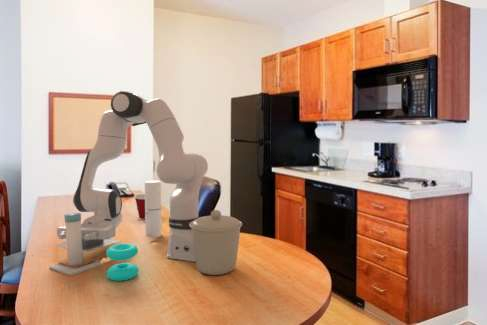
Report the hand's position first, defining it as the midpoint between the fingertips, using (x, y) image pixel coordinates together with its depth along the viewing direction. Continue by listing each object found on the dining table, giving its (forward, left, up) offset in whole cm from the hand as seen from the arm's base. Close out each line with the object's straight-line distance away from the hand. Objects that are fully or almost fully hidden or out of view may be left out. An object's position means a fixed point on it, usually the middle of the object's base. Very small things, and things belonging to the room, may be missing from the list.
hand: (73, 237), depth 129 cm
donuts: (-21, -4, -11) cm, 24 cm away
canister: (-44, -25, -11) cm, 51 cm away
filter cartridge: (0, -1, -10) cm, 10 cm away
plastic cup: (+36, -68, -11) cm, 78 cm away
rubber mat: (0, -1, -11) cm, 11 cm away
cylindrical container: (+5, -44, -11) cm, 45 cm away
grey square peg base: (+16, -18, -11) cm, 26 cm away
